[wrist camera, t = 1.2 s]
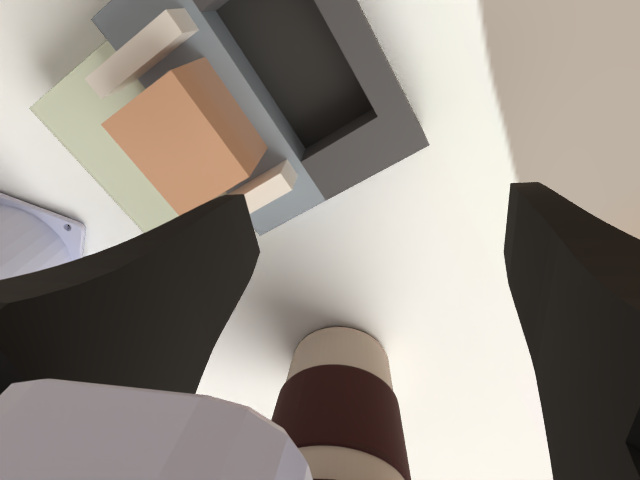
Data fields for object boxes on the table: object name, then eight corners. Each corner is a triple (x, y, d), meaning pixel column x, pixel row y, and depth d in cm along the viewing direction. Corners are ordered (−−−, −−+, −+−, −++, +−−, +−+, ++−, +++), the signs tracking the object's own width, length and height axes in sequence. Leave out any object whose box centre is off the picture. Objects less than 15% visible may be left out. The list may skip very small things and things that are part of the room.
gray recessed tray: (268, 215, 26) (259, 235, 24) (119, 16, 21) (90, 19, 19) (423, 130, 22) (429, 145, 20) (288, -135, 17) (278, -153, 15)
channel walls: (224, 216, 23) (213, 234, 22) (108, 71, 20) (84, 78, 18) (297, 174, 22) (292, 190, 20) (184, 8, 18) (165, 9, 16)
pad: (188, 243, 27) (173, 264, 25) (59, 97, 23) (29, 108, 21) (259, 203, 25) (249, 222, 23) (133, 35, 21) (107, 39, 19)
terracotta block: (209, 184, 22) (181, 218, 19) (144, 102, 20) (100, 124, 17) (268, 147, 21) (249, 176, 18) (205, 56, 19) (170, 69, 16)
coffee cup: (264, 313, 30) (190, 550, 17) (401, 304, 28) (433, 557, 16) (291, 403, 35) (248, 640, 22) (409, 399, 33) (438, 652, 21)
